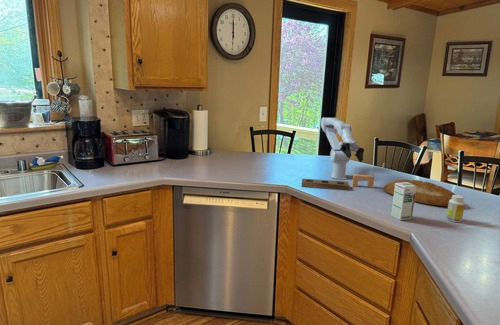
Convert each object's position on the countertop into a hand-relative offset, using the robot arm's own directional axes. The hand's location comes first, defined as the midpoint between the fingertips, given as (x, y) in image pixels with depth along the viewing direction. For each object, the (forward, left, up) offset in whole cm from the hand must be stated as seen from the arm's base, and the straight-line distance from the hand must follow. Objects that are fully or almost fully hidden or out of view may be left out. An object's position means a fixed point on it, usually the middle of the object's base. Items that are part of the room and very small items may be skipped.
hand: (355, 158), depth 170 cm
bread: (+8, +31, -16) cm, 36 cm away
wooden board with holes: (0, -14, -16) cm, 21 cm away
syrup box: (+35, +15, -16) cm, 41 cm away
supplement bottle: (+33, +36, -16) cm, 51 cm away
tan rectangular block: (-5, +6, -16) cm, 18 cm away
